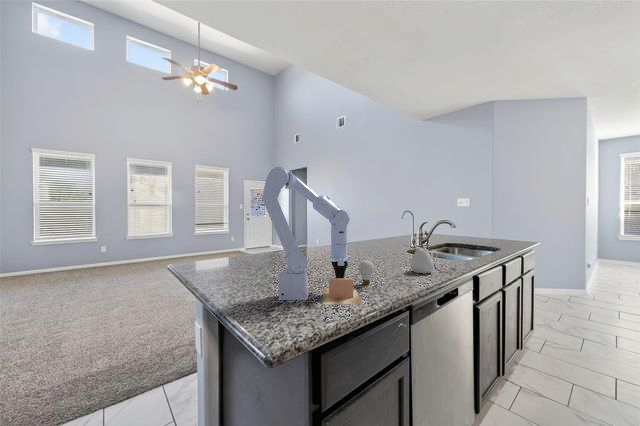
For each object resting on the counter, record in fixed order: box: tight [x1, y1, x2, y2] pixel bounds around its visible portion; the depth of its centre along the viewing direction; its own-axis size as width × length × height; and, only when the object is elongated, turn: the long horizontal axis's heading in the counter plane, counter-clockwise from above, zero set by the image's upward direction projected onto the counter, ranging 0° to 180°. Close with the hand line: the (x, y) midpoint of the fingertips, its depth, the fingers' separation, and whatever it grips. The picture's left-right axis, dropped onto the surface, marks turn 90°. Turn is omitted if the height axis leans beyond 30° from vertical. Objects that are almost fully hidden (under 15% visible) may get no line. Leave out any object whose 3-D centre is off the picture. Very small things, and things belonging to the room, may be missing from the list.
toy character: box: [410, 246, 435, 275], centre depth 126 cm, size 10×10×12 cm
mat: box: [322, 286, 363, 306], centre depth 91 cm, size 12×18×1 cm, turn 0°
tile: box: [328, 277, 354, 298], centre depth 89 cm, size 8×2×6 cm, turn 90°
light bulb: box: [358, 259, 375, 286], centre depth 104 cm, size 6×6×10 cm
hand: (339, 282), depth 95 cm, fingers closed
